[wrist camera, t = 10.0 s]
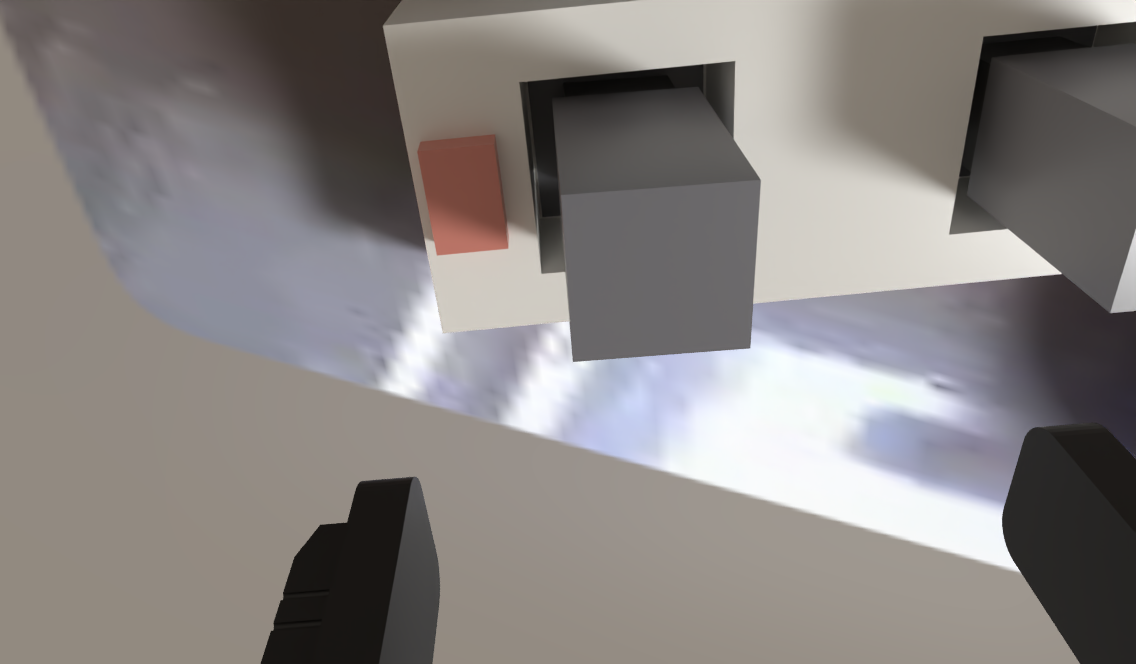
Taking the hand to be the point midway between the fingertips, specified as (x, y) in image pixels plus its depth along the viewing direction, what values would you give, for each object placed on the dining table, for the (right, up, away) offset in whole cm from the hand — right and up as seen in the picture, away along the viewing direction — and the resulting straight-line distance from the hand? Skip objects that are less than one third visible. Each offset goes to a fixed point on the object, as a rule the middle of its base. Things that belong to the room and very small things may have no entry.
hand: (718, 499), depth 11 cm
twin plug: (+11, +10, +15) cm, 21 cm away
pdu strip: (+5, +10, +16) cm, 19 cm away
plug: (0, +9, +15) cm, 17 cm away
